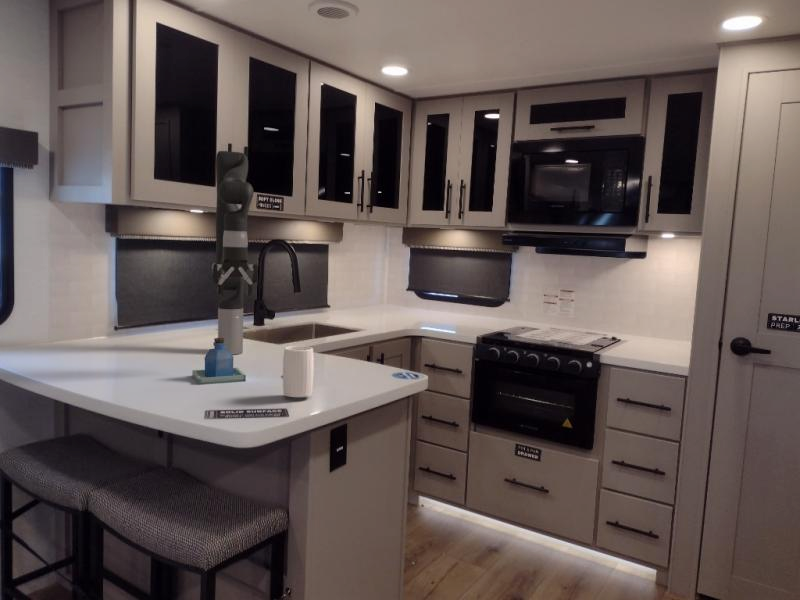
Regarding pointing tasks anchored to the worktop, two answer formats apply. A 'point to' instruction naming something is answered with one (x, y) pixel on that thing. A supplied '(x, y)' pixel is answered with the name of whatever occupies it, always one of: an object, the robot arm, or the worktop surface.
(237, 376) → the tray
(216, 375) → the perfume bottle
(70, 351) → the worktop surface
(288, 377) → the cup
